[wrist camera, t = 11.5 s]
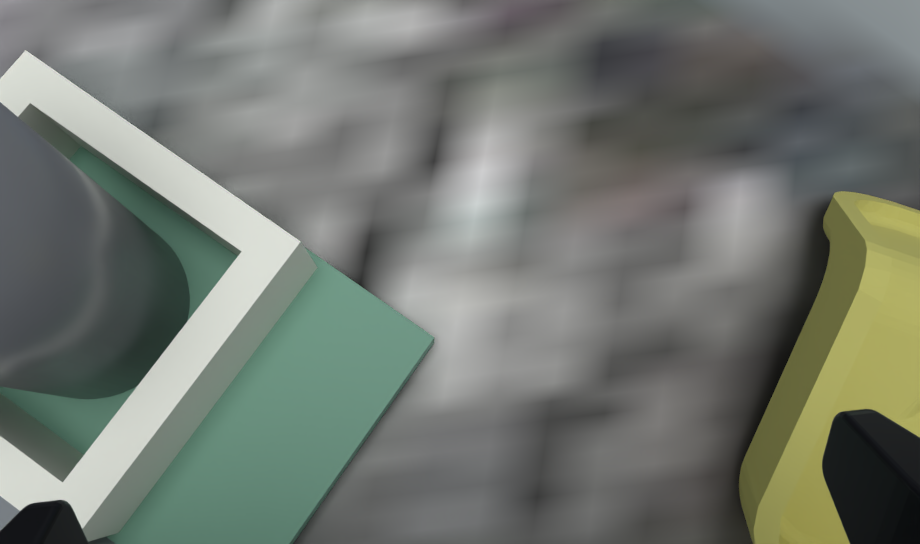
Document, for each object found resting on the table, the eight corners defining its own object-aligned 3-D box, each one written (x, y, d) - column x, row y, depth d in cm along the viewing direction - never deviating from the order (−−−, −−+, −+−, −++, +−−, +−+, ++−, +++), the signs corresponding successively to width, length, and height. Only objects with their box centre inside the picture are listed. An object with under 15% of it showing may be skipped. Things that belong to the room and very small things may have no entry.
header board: (67, 864, 21) (-23, 969, 17) (-344, 534, 22) (-524, 556, 18) (434, 342, 24) (435, 321, 20) (53, 77, 25) (-23, 5, 21)
